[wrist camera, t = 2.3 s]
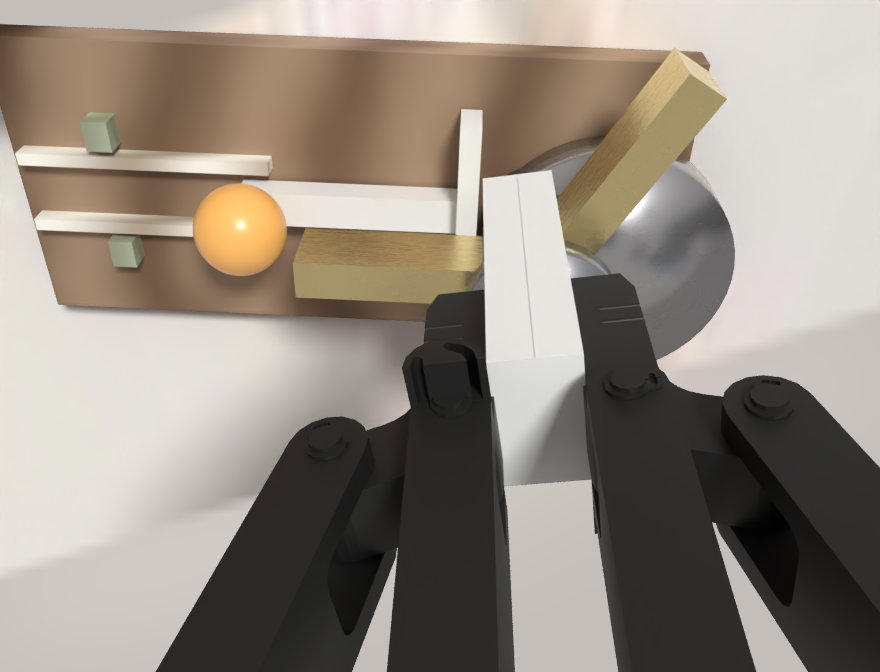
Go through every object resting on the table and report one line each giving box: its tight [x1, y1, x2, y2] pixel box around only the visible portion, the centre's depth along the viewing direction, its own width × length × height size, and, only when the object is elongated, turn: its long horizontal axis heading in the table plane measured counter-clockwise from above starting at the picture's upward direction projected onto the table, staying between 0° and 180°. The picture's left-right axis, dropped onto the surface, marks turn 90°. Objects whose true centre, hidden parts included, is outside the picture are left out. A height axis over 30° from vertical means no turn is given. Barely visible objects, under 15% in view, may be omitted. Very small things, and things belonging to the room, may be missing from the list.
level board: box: [0, 24, 710, 322], centre depth 34 cm, size 27×12×2 cm, turn 89°
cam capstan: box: [293, 48, 735, 360], centre depth 30 cm, size 16×14×8 cm
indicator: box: [193, 109, 483, 276], centre depth 32 cm, size 11×8×5 cm
